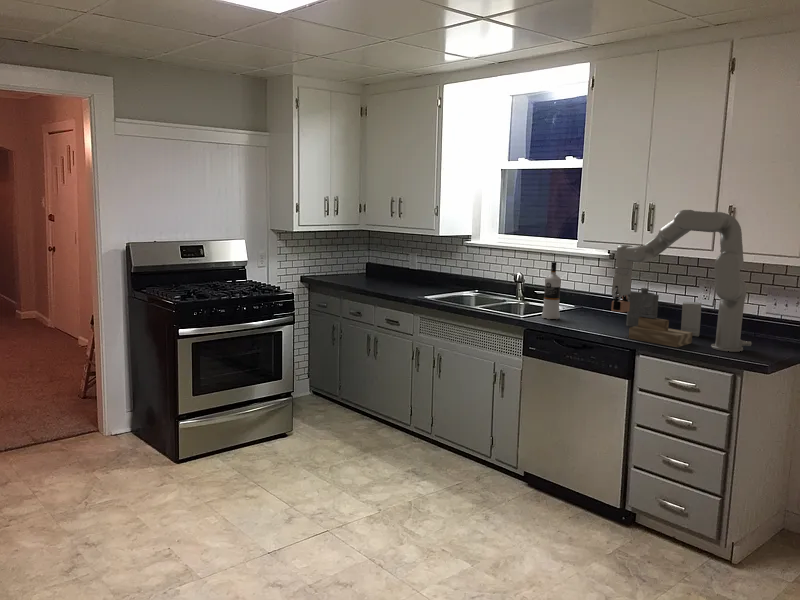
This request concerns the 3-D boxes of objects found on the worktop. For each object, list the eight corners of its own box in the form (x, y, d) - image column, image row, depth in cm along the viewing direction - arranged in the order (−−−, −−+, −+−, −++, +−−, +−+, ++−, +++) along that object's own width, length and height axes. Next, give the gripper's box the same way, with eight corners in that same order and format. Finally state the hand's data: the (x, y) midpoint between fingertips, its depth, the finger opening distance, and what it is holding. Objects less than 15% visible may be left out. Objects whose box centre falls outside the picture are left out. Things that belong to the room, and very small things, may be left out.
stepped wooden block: (643, 334, 323) (645, 314, 321) (691, 343, 306) (693, 322, 304) (628, 338, 313) (630, 317, 312) (676, 347, 297) (678, 325, 295)
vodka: (563, 318, 359) (566, 262, 355) (551, 320, 354) (554, 262, 349) (549, 316, 367) (553, 260, 362) (538, 317, 361) (541, 261, 357)
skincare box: (699, 334, 326) (702, 302, 324) (698, 337, 321) (701, 304, 318) (680, 332, 330) (683, 300, 328) (679, 335, 324) (682, 302, 322)
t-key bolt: (638, 314, 320) (639, 304, 319) (658, 317, 312) (659, 307, 312) (631, 315, 316) (632, 305, 315) (651, 318, 308) (652, 308, 308)
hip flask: (624, 325, 345) (627, 286, 342) (629, 324, 348) (632, 285, 345) (653, 330, 333) (656, 290, 330) (658, 330, 335) (661, 289, 332)
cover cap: (617, 309, 327) (618, 300, 327) (629, 311, 323) (630, 301, 322) (611, 310, 323) (611, 301, 323) (622, 312, 319) (623, 303, 318)
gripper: (625, 269, 329) (622, 306, 331) (606, 271, 317) (603, 309, 320) (640, 271, 323) (636, 308, 326) (621, 273, 312) (617, 312, 315)
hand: (620, 308), depth 323 cm, fingers closed on cover cap, 6 cm apart
